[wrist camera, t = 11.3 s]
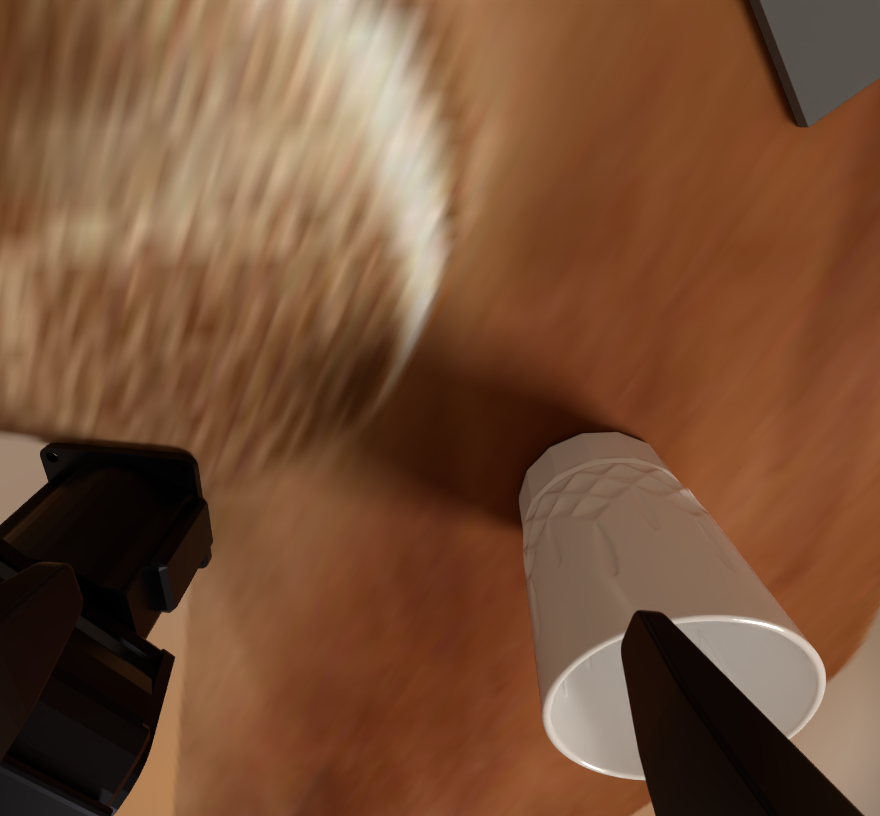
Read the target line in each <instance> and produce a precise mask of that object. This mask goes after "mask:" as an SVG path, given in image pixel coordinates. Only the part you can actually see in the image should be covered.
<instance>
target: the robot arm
mask: <svg viewBox="0 0 880 816" xmlns="http://www.w3.org/2000/svg"><path fill="white" fill-rule="evenodd" d="M53 453H54V454H56V455H57V456H56V455H54V454H53ZM40 457H41V460H42V463H43V466H44V469H45V472H46V475H47V479H48V483H47V484H46V485H44V487H42V488H41V489H40V490H39V491H38V492H37V493H36V494H34V495H33V496H32V497H31V498H30V499H29V500H28V501H27V502H25V503H24V504H23V505H22V506H21V507H20V508H19V509H18V510H17V511H15V512H14V513H13V514H12V515H11V516H10V517H9V518H8V519H7V520H5V521H4V522H3V523H2V524H1V525H0V816H113V815H114V814H115V813H116V812H117V810H118V809H119V808H120V806H121V805H122V803H123V802H124V800H125V799H126V797H127V796H128V794H129V793H130V791H131V790H132V788H133V786H134V784H135V783H136V781H137V779H138V778H139V776H140V774H141V771H142V769H143V767H144V765H145V763H146V761H147V758H148V755H149V752H150V749H151V746H152V742H153V739H154V735H155V731H156V727H157V723H158V720H159V716H160V712H161V709H162V705H163V701H164V697H165V693H166V690H167V686H168V682H169V678H170V675H171V671H172V667H173V663H174V659H175V656H173V655H172V654H170V653H169V652H168V651H166V650H165V649H162V650H160V649H159V648H157V647H156V646H154V645H153V644H152V643H150V642H149V641H147V640H146V638H147V637H148V635H149V633H150V631H151V630H152V628H153V626H154V625H155V623H156V621H157V619H158V618H159V616H160V614H161V613H162V612H165V613H166V612H167V613H170V612H171V611H172V610H174V609H175V608H176V607H177V606H178V603H179V602H180V600H181V598H182V597H183V595H184V593H185V591H186V590H187V588H188V586H189V584H190V582H191V581H192V579H193V577H194V575H195V573H196V572H197V570H198V568H205V567H206V566H207V565H208V564H209V562H210V560H211V557H212V555H211V548H210V547H211V545H212V543H213V538H212V531H211V524H210V517H209V510H208V503H207V502H206V500H205V499H204V498H203V495H202V488H201V482H200V475H199V468H198V463H197V461H196V460H195V459H194V458H193V457H191V456H190V455H186V454H177V453H166V452H155V451H143V450H132V449H121V448H110V447H99V446H87V445H76V444H65V443H50V444H48V445H47V446H46V447H44V448H43V449H42V450H41V452H40ZM181 464H183V465H185V466H187V467H188V468H184V467H183V466H182V465H181ZM621 659H622V664H623V670H624V675H625V681H626V687H627V692H628V698H629V703H630V709H631V714H632V720H633V726H634V731H635V737H636V742H637V747H638V752H639V757H640V761H641V764H642V768H643V772H644V776H645V779H646V783H647V787H648V790H649V794H650V797H651V801H652V804H653V808H654V812H655V815H656V816H864V815H863V814H862V813H861V812H860V811H859V810H858V809H857V808H856V807H855V806H854V805H853V804H852V803H851V802H850V801H849V800H848V799H847V798H846V797H845V796H844V795H843V794H842V793H841V792H840V791H839V790H838V789H837V788H836V787H835V786H834V784H832V783H831V781H829V780H828V779H827V778H826V776H825V775H824V774H823V773H822V772H821V771H819V769H818V768H817V767H815V765H814V764H813V763H812V762H811V761H810V760H809V759H808V758H807V757H806V756H805V755H804V754H803V753H802V752H801V751H800V750H799V749H798V748H797V747H796V746H795V745H794V744H793V743H792V742H791V741H790V740H789V739H788V738H787V737H786V736H785V735H784V734H783V733H782V732H781V731H780V730H779V729H778V728H777V727H776V726H775V725H774V724H773V723H772V722H771V721H770V720H769V719H768V718H767V717H766V716H765V715H764V714H763V713H762V712H761V711H760V710H759V709H758V708H757V707H756V706H755V705H754V704H753V703H752V702H751V701H750V700H749V699H748V698H747V697H746V696H745V695H744V694H743V693H742V692H741V691H740V690H739V689H738V688H737V687H736V686H735V684H734V683H733V682H732V681H731V680H730V679H729V678H728V677H727V676H726V675H725V674H724V673H723V672H722V671H721V670H720V669H719V668H718V667H717V666H716V665H715V664H714V663H713V662H712V661H711V660H710V659H709V658H708V657H707V656H706V655H705V654H704V653H703V652H702V651H701V650H700V649H699V648H698V647H697V646H696V645H695V644H694V643H693V642H692V641H691V640H690V639H689V638H688V637H687V636H686V635H685V634H684V633H683V632H682V631H681V630H680V629H679V628H678V627H677V626H676V625H675V624H674V623H673V622H672V621H671V620H670V619H669V618H668V617H667V616H666V615H665V614H663V613H662V612H659V611H650V610H637V611H636V612H635V613H634V614H633V616H632V618H631V621H630V623H629V625H628V628H627V630H626V632H625V635H624V637H623V640H622V643H621Z"/></svg>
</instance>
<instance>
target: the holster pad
mask: <svg viewBox="0 0 880 816" xmlns="http://www.w3.org/2000/svg"><path fill="white" fill-rule="evenodd" d="M749 1H750V4H751V7H752V9H753V12H754V14H755V17H756V19H757V22H758V24H759V27H760V30H761V32H762V35H763V37H764V40H765V42H766V45H767V47H768V50H769V53H770V55H771V58H772V60H773V63H774V65H775V68H776V70H777V73H778V76H779V78H780V81H781V83H782V86H783V88H784V91H785V93H786V96H787V99H788V101H789V104H790V106H791V109H792V111H793V114H794V117H795V119H796V122H797V124H798V127H810V126H811V125H812V124H814V123H815V122H817V121H818V120H820V119H821V118H822V117H824V116H825V115H827V114H828V113H830V112H831V111H832V110H834V109H835V108H837V107H838V106H840V105H841V104H842V103H844V102H845V101H847V100H848V99H850V98H851V97H852V96H854V95H855V94H857V93H858V92H860V91H861V90H863V89H864V88H865V87H867V86H868V85H870V84H871V83H873V82H874V81H875V80H877V79H878V78H880V0H749Z"/></svg>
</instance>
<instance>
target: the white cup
mask: <svg viewBox="0 0 880 816" xmlns="http://www.w3.org/2000/svg"><path fill="white" fill-rule="evenodd" d="M519 506H520V513H521V520H522V527H523V534H524V535H523V557H524V567H525V574H526V590H527V598H528V606H529V614H530V622H531V630H532V638H533V646H534V654H535V662H536V670H537V678H538V687H539V695H540V704H541V712H542V720H543V725H544V728H545V731H546V733H547V735H548V737H549V739H550V741H551V742H552V743H553V745H554V746H555V747H556V748H557V749H558V750H559V751H560V752H561V753H562V754H564V755H565V756H566V757H568V758H569V759H570V760H572V761H574V762H575V763H577V764H579V765H581V766H583V767H585V768H588V769H590V770H593V771H596V772H599V773H602V774H606V775H610V776H614V777H620V778H626V779H635V780H646V779H645V776H644V772H643V768H642V764H641V761H640V757H639V752H638V747H637V742H636V737H635V731H634V726H633V720H632V714H631V709H630V703H629V698H628V692H627V687H626V681H625V675H624V670H623V664H622V659H621V643H622V640H623V637H624V635H625V632H626V630H627V628H628V625H629V623H630V621H631V618H632V616H633V614H634V613H635V612H636V611H637V610H650V611H659V612H662V613H663V614H665V615H666V616H667V617H668V618H669V619H670V620H671V621H672V622H673V623H674V624H675V625H676V626H677V627H678V628H679V629H680V630H681V631H682V632H683V633H684V634H685V635H686V636H687V637H688V638H689V639H690V640H691V641H692V642H693V643H694V644H695V645H696V646H697V647H698V648H699V649H700V650H701V651H702V652H703V653H704V654H705V655H706V656H707V657H708V658H709V659H710V660H711V661H712V662H713V663H714V664H715V665H716V666H717V667H718V668H719V669H720V670H721V671H722V672H723V673H724V674H725V675H726V676H727V677H728V678H729V679H730V680H731V681H732V682H733V683H734V684H735V686H736V687H737V688H738V689H739V690H740V691H741V692H742V693H743V694H744V695H745V696H746V697H747V698H748V699H749V700H750V701H751V702H752V703H753V704H754V705H755V706H756V707H757V708H758V709H759V710H760V711H761V712H762V713H763V714H764V715H765V716H766V717H767V718H768V719H769V720H770V721H771V722H772V723H773V724H774V725H775V726H776V727H777V728H778V729H779V730H780V731H781V732H782V733H783V734H784V735H785V736H786V737H787V738H788V739H790V738H792V737H793V736H794V735H795V734H796V733H798V732H799V731H800V730H801V729H802V728H803V727H804V726H805V725H806V724H807V723H808V722H809V720H810V719H811V718H812V717H813V715H814V713H815V712H816V711H817V709H818V707H819V705H820V703H821V701H822V698H823V696H824V692H825V686H826V674H825V669H824V665H823V663H822V660H821V658H820V657H819V655H818V653H817V652H816V650H815V649H814V648H813V647H812V645H811V644H810V643H809V641H808V640H807V639H806V638H805V636H804V635H803V634H802V633H801V631H800V630H799V629H798V627H797V626H796V625H795V624H794V622H793V621H792V620H791V618H790V617H789V616H788V615H787V613H786V612H785V611H784V609H783V608H782V607H781V606H780V604H779V603H778V602H777V600H776V599H775V598H774V597H773V595H772V594H771V593H770V591H769V590H768V589H767V588H766V586H765V585H764V584H763V582H762V581H761V580H760V578H759V577H758V576H757V575H756V573H755V572H754V571H753V569H752V568H751V567H750V565H749V564H748V563H747V562H746V560H745V559H744V558H743V557H742V555H741V554H740V553H739V552H738V550H737V549H736V548H735V546H734V545H733V544H732V542H731V541H730V540H729V539H728V537H727V536H726V535H725V533H724V532H723V531H722V530H721V528H720V527H719V526H718V524H717V523H716V522H715V521H714V519H713V518H712V517H711V515H710V514H709V512H707V511H706V509H705V508H704V507H703V506H702V505H701V504H700V503H699V502H698V501H697V499H696V498H695V497H694V495H693V494H692V493H691V491H690V490H689V489H688V488H687V487H685V486H684V485H682V484H681V483H680V482H679V481H678V480H677V479H676V478H675V476H674V475H673V473H672V472H671V471H670V469H669V468H668V467H667V466H666V464H665V463H664V462H663V461H662V460H661V458H660V457H659V456H658V455H657V454H656V452H655V451H654V450H653V449H652V448H651V446H650V445H649V444H648V443H645V442H643V441H640V440H637V439H635V438H632V437H630V436H627V435H624V434H622V433H619V432H601V433H582V434H579V435H577V436H575V437H572V438H570V439H568V440H565V441H563V442H561V443H558V444H556V445H554V446H552V447H550V448H548V449H547V450H546V451H545V452H544V453H543V455H542V456H541V457H540V458H539V459H538V460H537V461H536V462H535V463H534V464H533V465H532V466H531V467H530V468H529V469H528V470H527V472H526V475H525V478H524V482H523V485H522V488H521V491H520V495H519Z"/></svg>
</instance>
